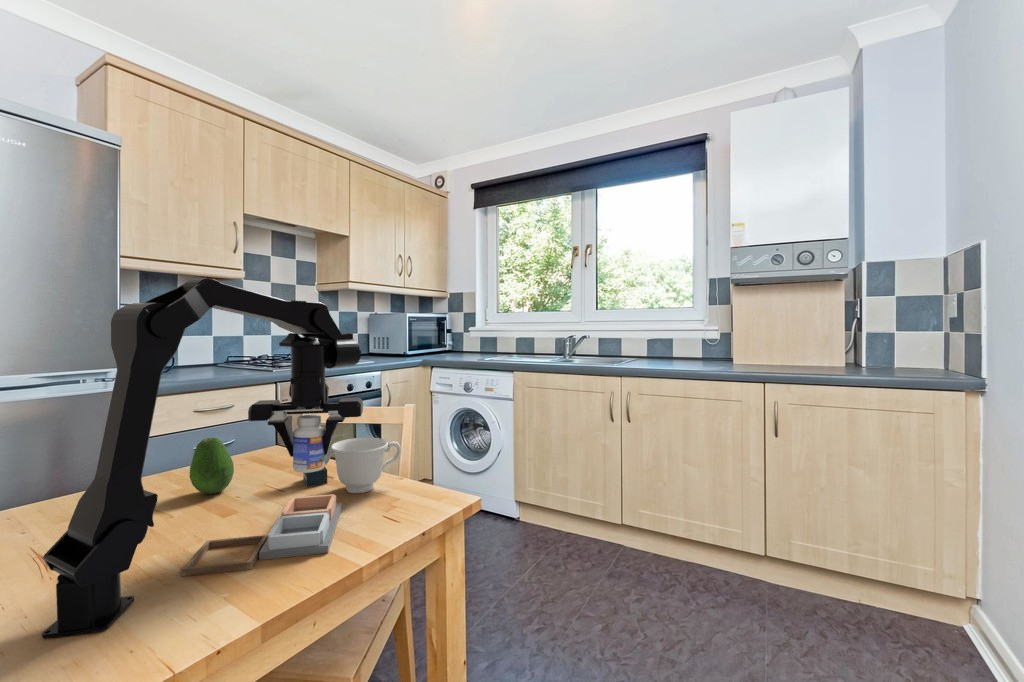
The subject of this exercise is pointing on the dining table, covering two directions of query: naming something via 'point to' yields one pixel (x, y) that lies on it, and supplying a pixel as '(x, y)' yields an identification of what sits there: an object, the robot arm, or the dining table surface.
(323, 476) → the watch
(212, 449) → the fruit
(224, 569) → the tray
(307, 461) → the pill bottle
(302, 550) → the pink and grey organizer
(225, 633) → the dining table surface
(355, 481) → the teacup
